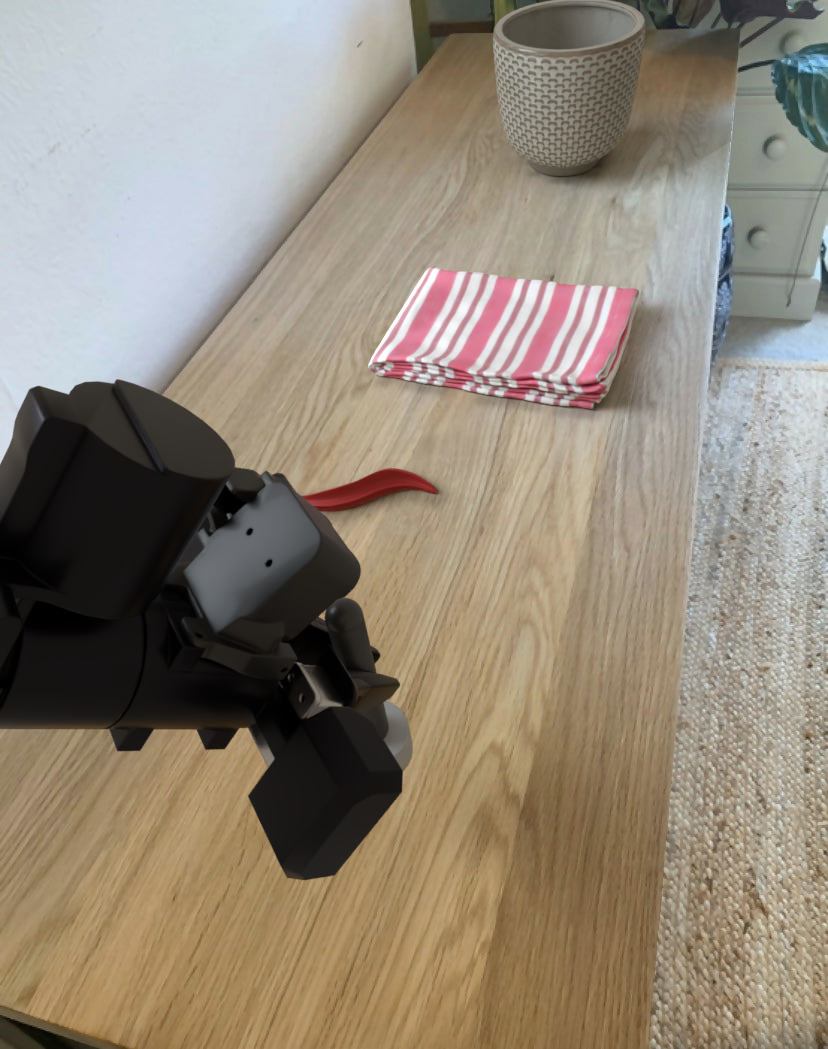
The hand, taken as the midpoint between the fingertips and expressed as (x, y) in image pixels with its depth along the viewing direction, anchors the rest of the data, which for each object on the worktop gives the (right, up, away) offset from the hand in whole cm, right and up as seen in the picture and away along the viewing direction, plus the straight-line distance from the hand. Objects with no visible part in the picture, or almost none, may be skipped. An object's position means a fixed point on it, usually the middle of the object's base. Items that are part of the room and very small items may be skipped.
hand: (385, 673), depth 45 cm
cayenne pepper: (-2, +10, +28) cm, 30 cm away
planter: (+21, +54, +65) cm, 87 cm away
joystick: (-1, -5, +5) cm, 7 cm away
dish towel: (+11, +26, +40) cm, 49 cm away
